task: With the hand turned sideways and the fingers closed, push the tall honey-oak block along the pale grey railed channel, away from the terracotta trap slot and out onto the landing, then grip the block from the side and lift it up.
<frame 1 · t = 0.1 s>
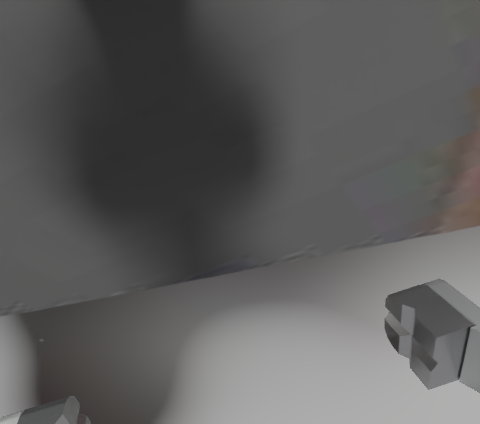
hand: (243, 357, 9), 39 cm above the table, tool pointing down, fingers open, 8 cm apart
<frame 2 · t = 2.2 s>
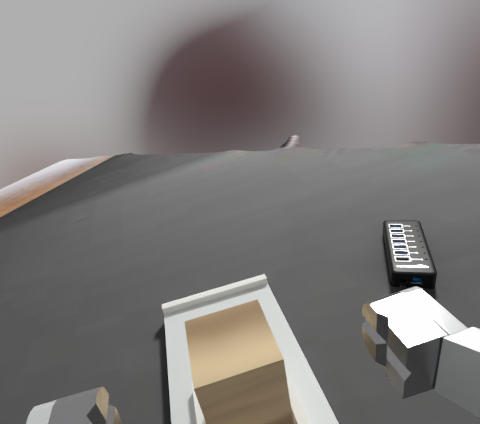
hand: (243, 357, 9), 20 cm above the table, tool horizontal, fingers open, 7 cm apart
multiport hub: (405, 260, 42), on the table
channel: (250, 418, 28), on the table
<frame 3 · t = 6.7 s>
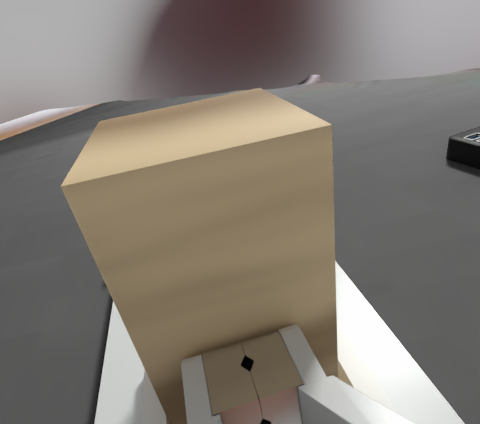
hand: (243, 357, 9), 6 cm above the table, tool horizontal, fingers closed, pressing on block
block: (248, 377, 13), point 1 cm above the table, touching channel, gripper
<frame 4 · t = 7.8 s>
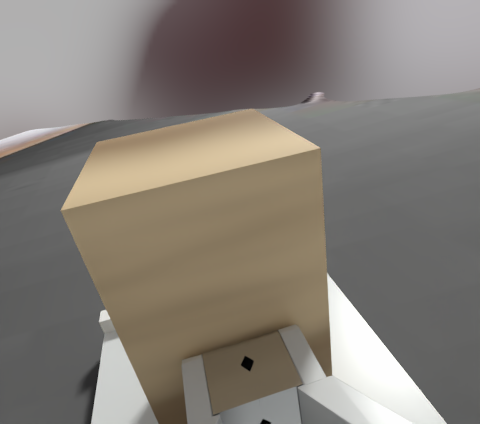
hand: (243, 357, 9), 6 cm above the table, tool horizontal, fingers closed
block: (245, 393, 13), point 1 cm above the table, touching channel
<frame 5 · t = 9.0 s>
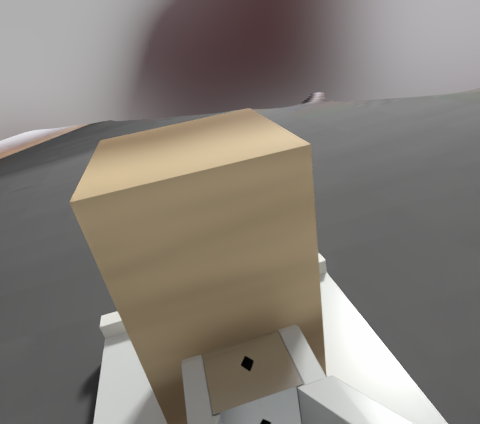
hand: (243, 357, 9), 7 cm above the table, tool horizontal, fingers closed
block: (243, 382, 14), point 1 cm above the table, touching channel
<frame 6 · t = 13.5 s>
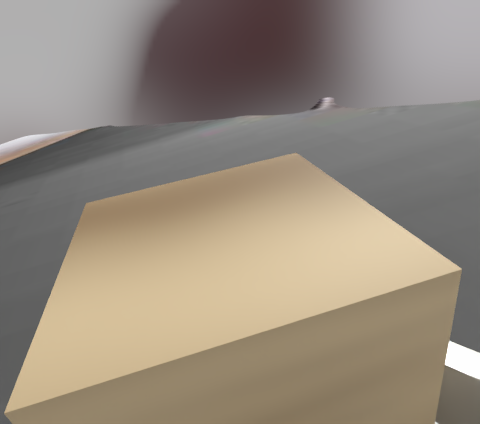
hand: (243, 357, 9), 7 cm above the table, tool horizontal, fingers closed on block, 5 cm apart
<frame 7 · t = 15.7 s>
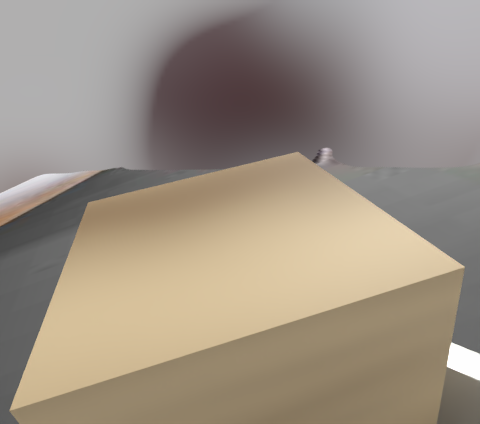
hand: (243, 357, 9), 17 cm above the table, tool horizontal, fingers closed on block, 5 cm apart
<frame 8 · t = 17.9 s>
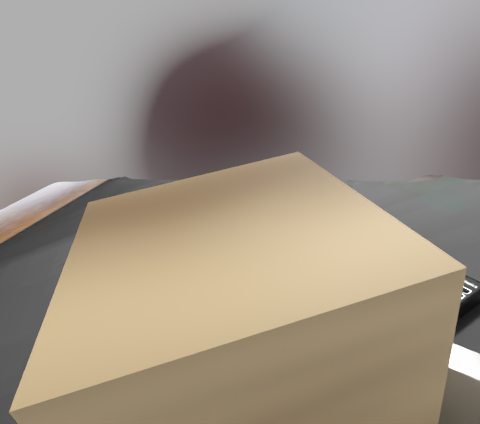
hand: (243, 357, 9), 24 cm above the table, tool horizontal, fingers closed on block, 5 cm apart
multiport hub: (435, 313, 39), on the table
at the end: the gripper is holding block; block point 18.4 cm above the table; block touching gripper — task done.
